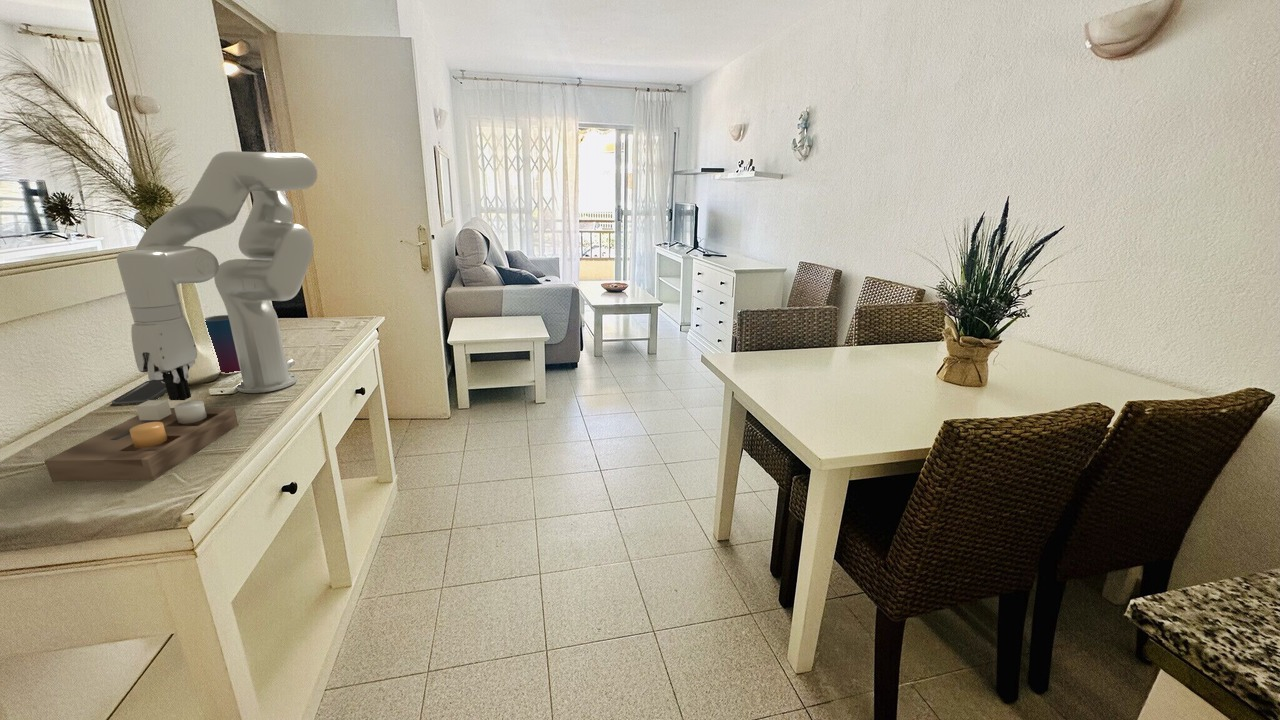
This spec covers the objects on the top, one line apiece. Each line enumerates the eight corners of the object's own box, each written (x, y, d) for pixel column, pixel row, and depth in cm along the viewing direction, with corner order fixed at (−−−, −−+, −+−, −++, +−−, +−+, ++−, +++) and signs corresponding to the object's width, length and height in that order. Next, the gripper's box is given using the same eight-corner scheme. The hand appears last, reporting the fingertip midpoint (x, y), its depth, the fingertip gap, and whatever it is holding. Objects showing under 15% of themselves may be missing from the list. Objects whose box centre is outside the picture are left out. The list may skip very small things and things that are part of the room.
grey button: (189, 414, 104) (185, 400, 103) (212, 414, 104) (208, 400, 103) (171, 423, 99) (167, 409, 99) (196, 423, 100) (192, 409, 99)
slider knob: (152, 414, 103) (148, 400, 102) (171, 413, 104) (167, 400, 103) (139, 420, 101) (135, 406, 100) (159, 420, 101) (155, 406, 100)
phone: (109, 402, 116) (147, 380, 130) (110, 407, 117) (148, 384, 130) (151, 399, 119) (185, 377, 132) (153, 404, 119) (186, 381, 132)
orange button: (147, 436, 94) (143, 421, 93) (173, 436, 95) (169, 421, 94) (127, 448, 90) (122, 432, 89) (154, 447, 90) (149, 432, 89)
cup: (243, 366, 144) (231, 313, 139) (250, 371, 140) (238, 317, 135) (212, 371, 139) (199, 317, 134) (219, 377, 135) (206, 322, 130)
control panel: (157, 425, 108) (152, 407, 106) (238, 425, 109) (234, 407, 108) (52, 481, 87) (44, 460, 86) (153, 480, 88) (147, 458, 87)
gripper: (167, 305, 109) (188, 386, 115) (103, 322, 95) (130, 413, 101) (205, 305, 110) (224, 386, 116) (147, 322, 96) (171, 413, 101)
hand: (180, 398), depth 108 cm, fingers closed
